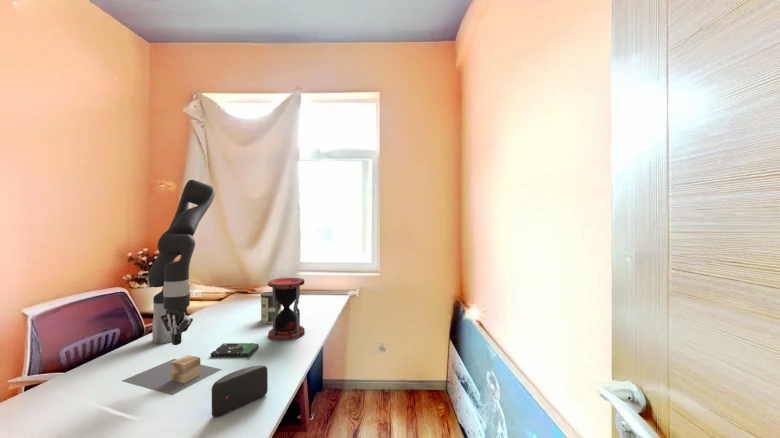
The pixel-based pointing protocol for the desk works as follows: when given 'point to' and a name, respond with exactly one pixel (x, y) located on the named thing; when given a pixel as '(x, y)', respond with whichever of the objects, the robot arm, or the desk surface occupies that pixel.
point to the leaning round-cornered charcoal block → (239, 389)
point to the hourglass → (286, 308)
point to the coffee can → (267, 308)
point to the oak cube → (185, 369)
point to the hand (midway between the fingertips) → (176, 344)
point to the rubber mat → (167, 378)
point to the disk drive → (235, 350)
